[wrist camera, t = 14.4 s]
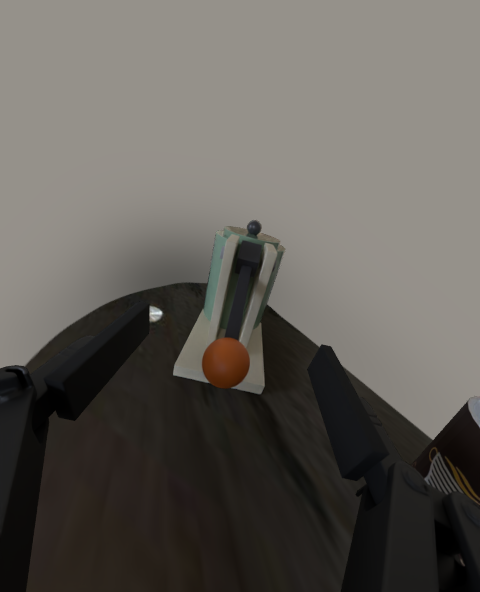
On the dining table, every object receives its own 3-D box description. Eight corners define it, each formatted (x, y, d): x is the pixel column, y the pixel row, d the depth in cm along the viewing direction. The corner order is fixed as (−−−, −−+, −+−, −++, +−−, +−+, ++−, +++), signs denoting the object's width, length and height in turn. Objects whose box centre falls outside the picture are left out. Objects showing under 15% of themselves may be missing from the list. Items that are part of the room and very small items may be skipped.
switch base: (261, 394, 20) (315, 272, 14) (173, 375, 20) (185, 240, 13) (258, 329, 31) (288, 244, 24) (201, 316, 31) (216, 225, 24)
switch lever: (241, 395, 14) (250, 391, 11) (196, 385, 14) (194, 378, 11) (261, 264, 22) (270, 242, 19) (232, 257, 22) (236, 233, 19)
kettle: (259, 345, 27) (300, 234, 20) (194, 330, 27) (212, 211, 20) (257, 308, 38) (284, 225, 30) (210, 296, 37) (226, 210, 30)
